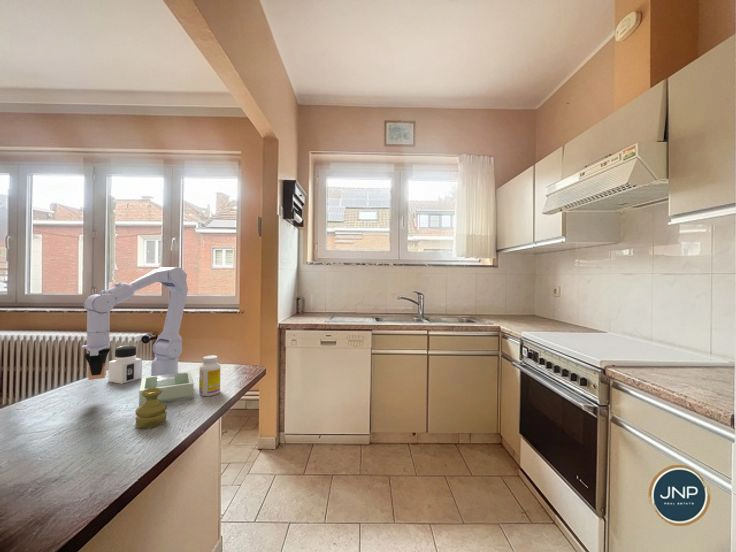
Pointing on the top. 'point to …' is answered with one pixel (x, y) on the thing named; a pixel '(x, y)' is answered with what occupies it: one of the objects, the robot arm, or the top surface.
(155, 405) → the brass calibration weight
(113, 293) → the robot arm
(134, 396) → the top surface
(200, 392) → the supplement bottle
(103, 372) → the terracotta box
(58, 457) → the top surface
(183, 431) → the top surface
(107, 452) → the top surface
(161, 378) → the steel block
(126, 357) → the container
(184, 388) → the tote
